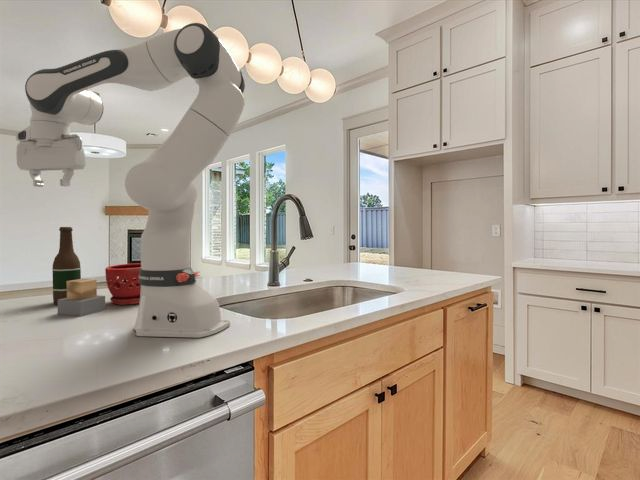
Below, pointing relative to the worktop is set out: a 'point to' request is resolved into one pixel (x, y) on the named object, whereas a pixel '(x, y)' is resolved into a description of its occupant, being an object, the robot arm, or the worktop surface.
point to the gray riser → (81, 306)
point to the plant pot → (124, 283)
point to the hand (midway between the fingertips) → (51, 186)
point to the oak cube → (81, 289)
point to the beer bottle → (65, 265)
